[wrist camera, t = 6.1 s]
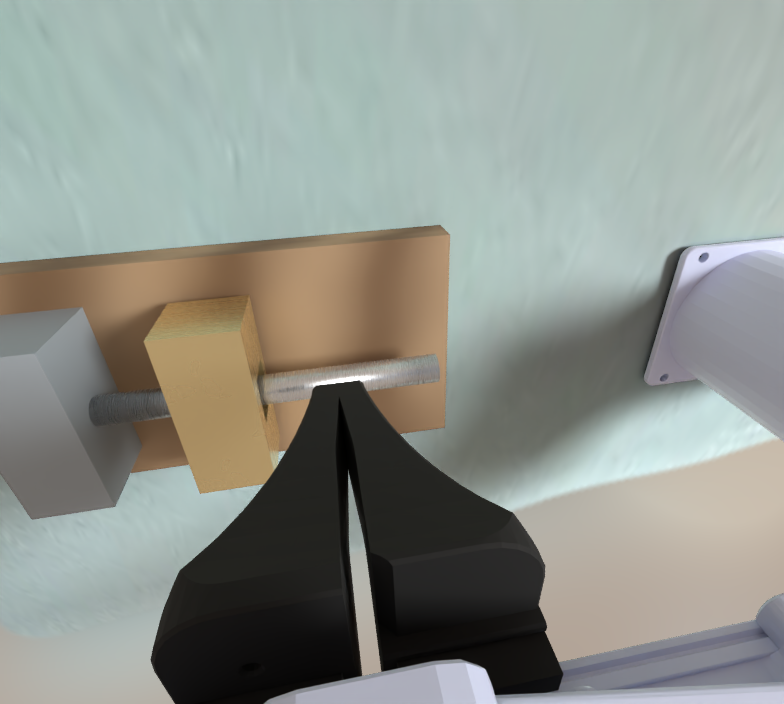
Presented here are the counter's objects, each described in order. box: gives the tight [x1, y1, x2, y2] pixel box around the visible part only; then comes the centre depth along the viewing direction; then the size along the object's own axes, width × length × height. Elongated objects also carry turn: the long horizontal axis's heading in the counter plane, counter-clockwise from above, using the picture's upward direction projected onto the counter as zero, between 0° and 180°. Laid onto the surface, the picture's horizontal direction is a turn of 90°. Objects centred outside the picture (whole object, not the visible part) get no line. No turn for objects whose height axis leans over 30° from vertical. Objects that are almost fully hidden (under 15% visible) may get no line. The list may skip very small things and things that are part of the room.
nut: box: [144, 295, 280, 494], centre depth 18 cm, size 3×7×3 cm, turn 2°
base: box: [0, 225, 450, 519], centre depth 18 cm, size 18×10×5 cm, turn 92°
